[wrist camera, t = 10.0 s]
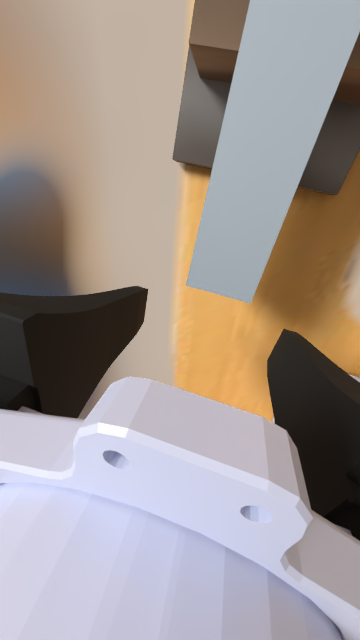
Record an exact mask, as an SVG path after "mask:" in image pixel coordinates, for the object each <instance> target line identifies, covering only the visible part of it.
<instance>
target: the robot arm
mask: <svg viewBox="0 0 360 640" xmlns="http://www.w3.org/2000/svg"><path fill="white" fill-rule="evenodd" d="M147 294H148V289H145V288H142V287H139V286H133V287H127V288H122V289H117V290H112V291H107V292H101V293H95V294H88V295H77V296H29V295H17V294H8V293H0V640H360V377H357V376H353V375H350V374H347V373H346V372H345V371H343V370H342V369H341V368H339V367H338V366H337V365H336V364H334V363H333V362H332V361H331V360H330V359H328V358H327V357H326V356H325V355H324V354H322V353H321V352H320V351H319V350H318V349H317V348H316V347H314V346H313V345H312V344H311V343H310V342H309V341H307V340H306V339H305V338H304V337H302V336H301V335H300V334H298V333H296V332H293V331H290V330H286V329H284V330H283V331H282V333H281V335H280V337H279V339H278V341H277V343H276V345H275V347H274V349H273V350H272V352H271V354H270V356H269V358H268V360H267V377H268V384H269V390H270V396H271V402H272V407H273V413H274V417H273V422H274V423H275V424H274V423H272V422H271V421H269V420H267V419H265V418H264V417H262V416H259V415H256V414H253V413H250V412H247V411H244V410H241V409H238V408H235V407H232V406H230V405H227V404H224V403H221V402H218V401H215V400H212V399H209V398H206V397H203V396H200V395H197V394H194V393H191V392H188V391H185V390H182V389H179V388H176V387H173V386H171V385H168V384H165V383H162V382H158V381H156V380H152V379H144V378H136V377H126V378H124V379H121V380H119V381H116V382H114V383H112V384H111V385H110V386H109V387H108V389H107V390H106V392H105V393H104V394H103V396H102V397H101V399H100V400H99V401H98V403H97V404H96V405H95V407H94V408H93V410H92V411H91V412H90V414H89V415H88V416H87V418H86V419H78V416H79V415H80V413H81V411H82V409H83V408H84V406H85V404H86V402H87V401H88V399H89V398H90V396H91V394H92V393H93V391H94V390H95V388H96V386H97V385H98V383H99V382H100V380H101V379H102V377H103V375H104V374H105V373H106V371H107V370H108V368H109V367H110V365H111V364H112V363H113V362H114V360H115V359H116V358H117V357H118V355H119V354H120V353H121V352H122V351H123V350H124V349H125V347H126V346H127V345H128V344H129V342H130V341H131V340H132V339H133V338H134V336H135V335H136V334H137V332H138V331H139V329H140V327H141V325H142V324H143V322H144V316H145V309H146V301H147Z"/></svg>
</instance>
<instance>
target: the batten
mask: <svg viewBox="0 0 360 640" xmlns="http://www.w3.org/2000/svg"><path fill="white" fill-rule="evenodd" d="M359 32H360V0H250V3H249V8H248V12H247V16H246V21H245V25H244V30H243V34H242V39H241V43H240V48H239V52H238V56H237V61H236V65H235V70H234V74H233V79H232V83H231V88H230V92H229V96H228V101H227V105H226V110H225V114H224V119H223V123H222V128H221V132H220V136H219V141H218V145H217V150H216V154H215V159H214V163H213V168H212V172H211V176H210V181H209V185H208V190H207V194H206V199H205V203H204V208H203V212H202V216H201V221H200V225H199V230H198V234H197V239H196V243H195V248H194V252H193V256H192V261H191V265H190V270H189V274H188V279H187V283H186V286H190V287H194V288H197V289H201V290H204V291H208V292H211V293H215V294H219V295H222V296H226V297H229V298H233V299H236V300H240V301H244V302H247V303H251V301H252V299H253V297H254V294H255V292H256V289H257V287H258V284H259V282H260V279H261V277H262V274H263V272H264V269H265V267H266V264H267V262H268V259H269V257H270V254H271V252H272V249H273V247H274V244H275V242H276V239H277V237H278V234H279V232H280V229H281V227H282V224H283V222H284V219H285V217H286V214H287V212H288V209H289V207H290V204H291V202H292V199H293V197H294V194H295V192H296V189H297V187H298V184H299V182H300V179H301V177H302V174H303V172H304V169H305V167H306V164H307V162H308V159H309V157H310V154H311V152H312V149H313V147H314V144H315V142H316V139H317V137H318V134H319V132H320V129H321V127H322V124H323V122H324V119H325V117H326V114H327V112H328V110H329V107H330V105H331V102H332V100H333V97H334V95H335V92H336V90H337V87H338V85H339V82H340V80H341V77H342V75H343V72H344V70H345V67H346V65H347V62H348V60H349V57H350V55H351V52H352V50H353V47H354V45H355V42H356V40H357V37H358V35H359Z"/></svg>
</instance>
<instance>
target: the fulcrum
mask: <svg viewBox="0 0 360 640" xmlns="http://www.w3.org/2000/svg"><path fill="white" fill-rule="evenodd" d="M249 3H250V0H195V4H194V11H193V18H192V25H191V32H190V39H189V51H188V58H187V64H186V71H185V78H184V85H183V91H182V98H181V105H180V112H179V119H178V125H177V132H176V139H175V146H174V153H173V160H175V161H177V162H181V163H186V164H191V165H195V166H200V167H205V168H209V169H212V168H213V163H214V159H215V154H216V150H217V145H218V141H219V136H220V132H221V128H222V123H223V119H224V114H225V110H226V105H227V101H228V96H229V92H230V88H231V83H232V79H233V74H234V70H235V65H236V61H237V56H238V52H239V48H240V43H241V39H242V34H243V30H244V25H245V21H246V16H247V12H248V8H249ZM359 149H360V32H359V35H358V37H357V40H356V42H355V45H354V47H353V50H352V52H351V55H350V57H349V60H348V62H347V65H346V67H345V70H344V72H343V75H342V77H341V80H340V82H339V85H338V87H337V90H336V92H335V95H334V97H333V100H332V102H331V105H330V107H329V110H328V112H327V114H326V117H325V119H324V122H323V124H322V127H321V129H320V132H319V134H318V137H317V139H316V142H315V144H314V147H313V149H312V152H311V154H310V157H309V159H308V162H307V164H306V167H305V169H304V172H303V174H302V177H301V179H300V182H299V184H298V187H297V188H302V189H306V190H311V191H316V192H320V193H325V194H329V195H337V194H338V192H339V190H340V188H341V186H342V184H343V182H344V180H345V178H346V176H347V174H348V172H349V170H350V168H351V166H352V164H353V162H354V160H355V158H356V155H357V153H358V151H359Z"/></svg>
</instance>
